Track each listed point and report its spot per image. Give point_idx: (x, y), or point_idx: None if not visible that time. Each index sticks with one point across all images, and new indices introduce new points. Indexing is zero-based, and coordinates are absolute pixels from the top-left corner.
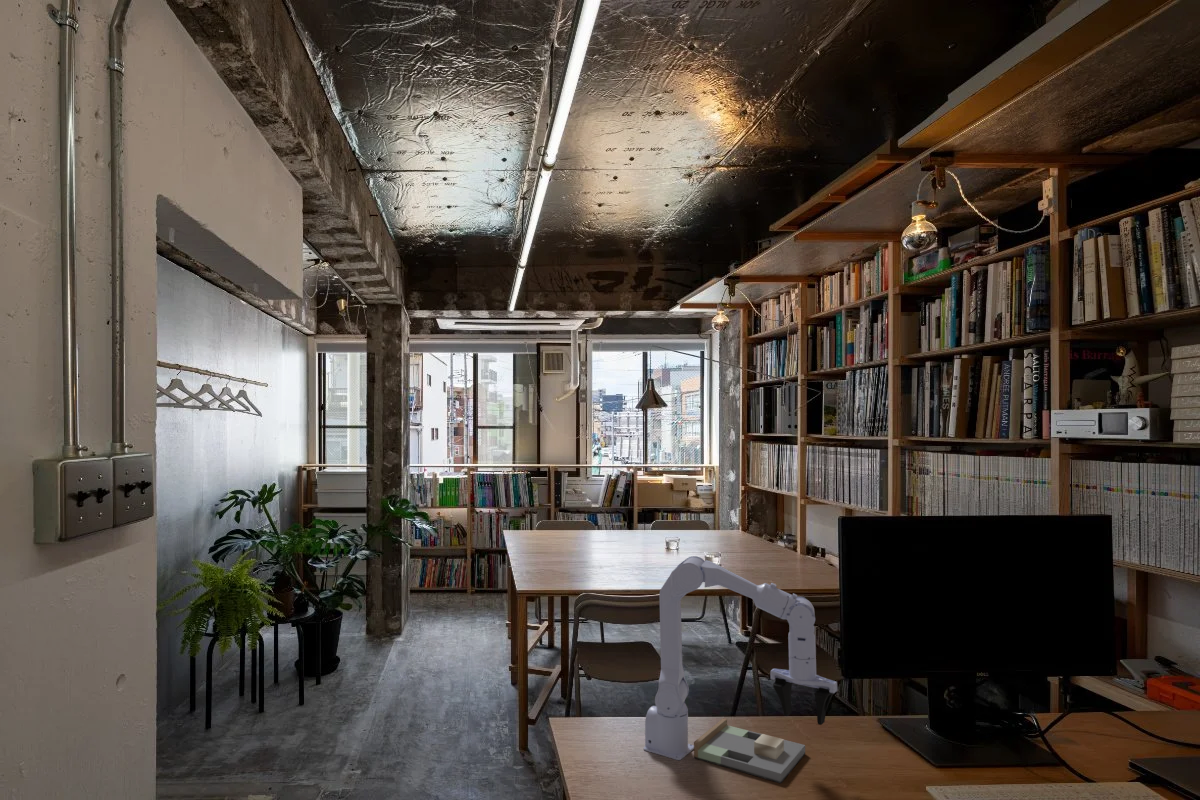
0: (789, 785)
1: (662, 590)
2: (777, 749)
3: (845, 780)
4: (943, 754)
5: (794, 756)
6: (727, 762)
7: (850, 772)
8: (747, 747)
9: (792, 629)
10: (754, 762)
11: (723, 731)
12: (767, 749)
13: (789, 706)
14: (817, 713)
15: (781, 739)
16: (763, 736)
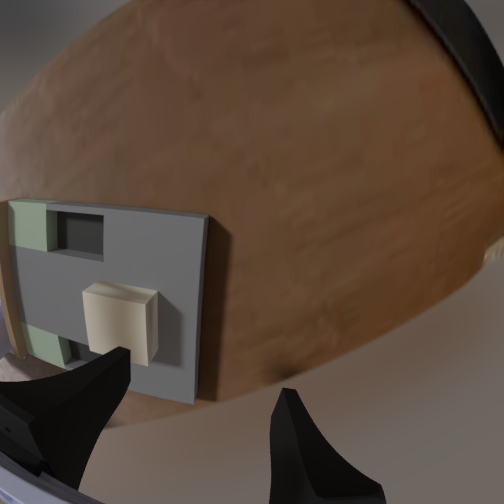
0: (215, 386)
1: None
2: (150, 351)
3: (336, 315)
4: (501, 83)
5: (194, 314)
6: None
7: (347, 265)
8: (78, 309)
9: None
10: None
11: (13, 242)
12: None
13: (115, 379)
14: (272, 461)
15: (139, 308)
16: (91, 308)
